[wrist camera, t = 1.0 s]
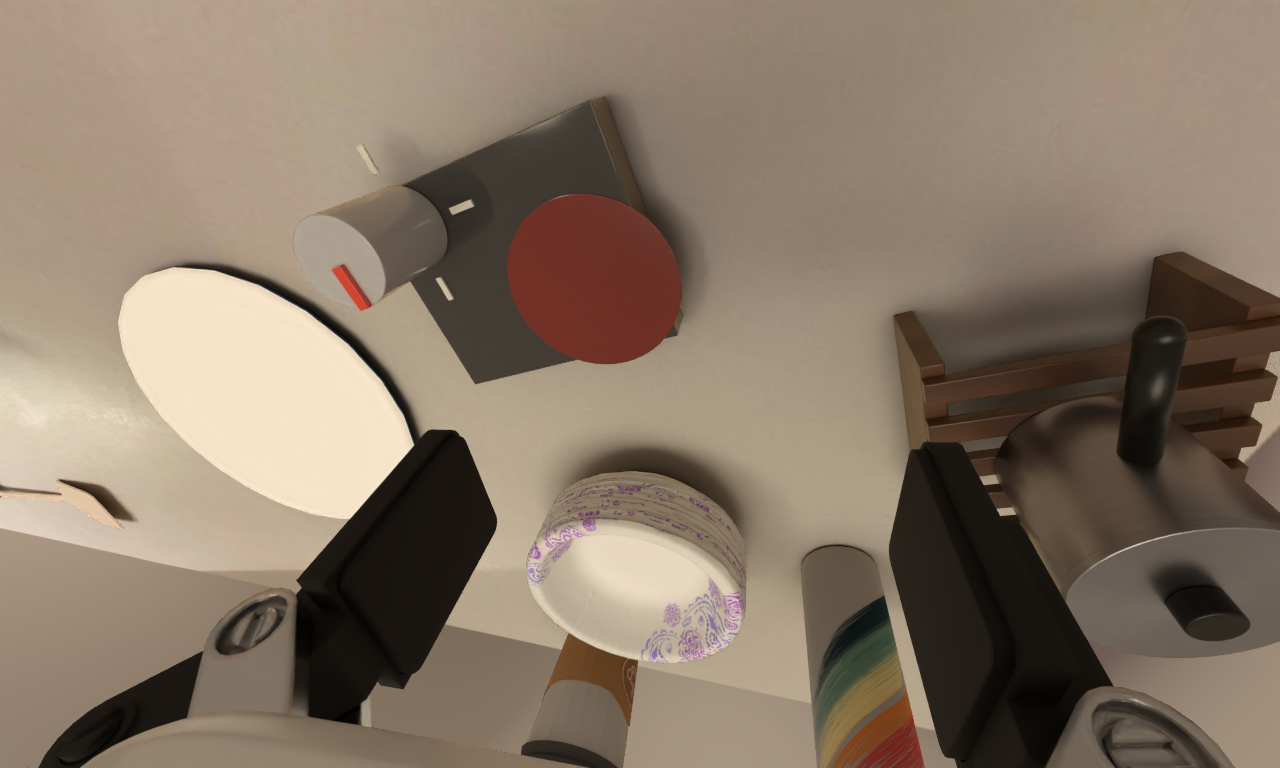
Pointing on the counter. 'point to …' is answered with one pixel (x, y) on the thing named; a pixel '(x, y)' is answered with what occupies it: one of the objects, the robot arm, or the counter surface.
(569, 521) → the paper bowls
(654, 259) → the burner ring
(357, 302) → the hob knob
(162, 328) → the plate
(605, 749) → the coffee cup
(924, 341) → the drying rack
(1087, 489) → the saucepan
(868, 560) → the lotion bottle
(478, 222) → the hob
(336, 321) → the counter surface
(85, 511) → the spatula
